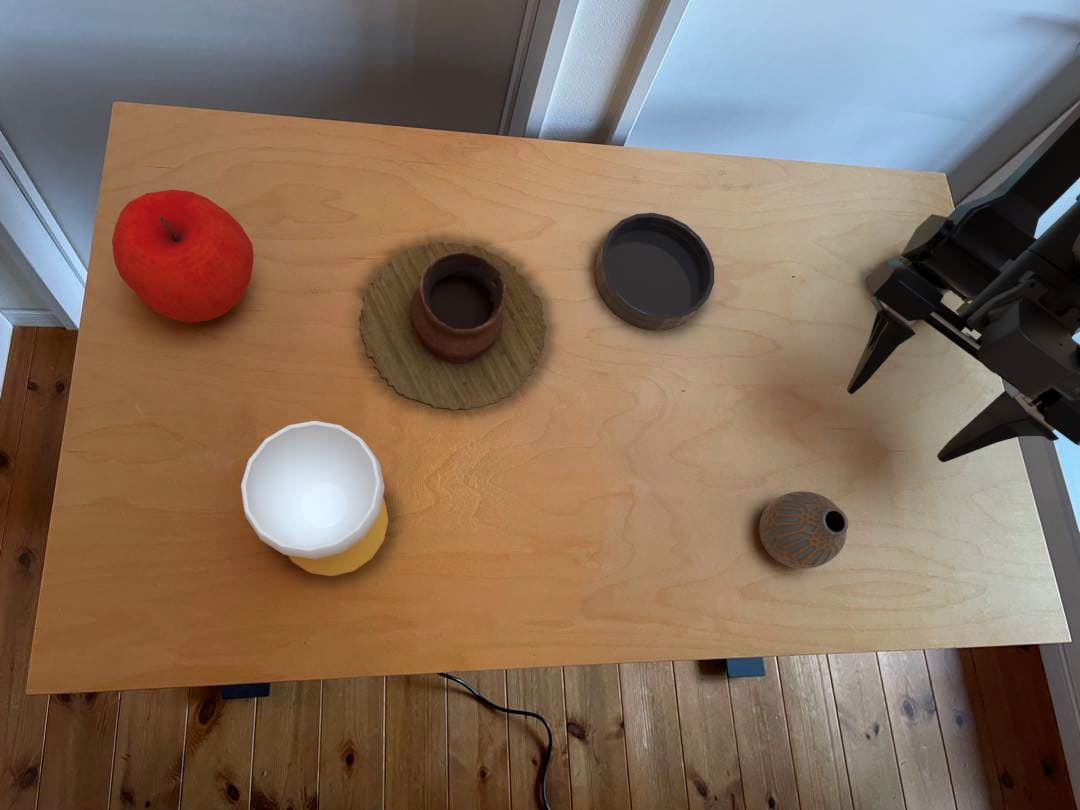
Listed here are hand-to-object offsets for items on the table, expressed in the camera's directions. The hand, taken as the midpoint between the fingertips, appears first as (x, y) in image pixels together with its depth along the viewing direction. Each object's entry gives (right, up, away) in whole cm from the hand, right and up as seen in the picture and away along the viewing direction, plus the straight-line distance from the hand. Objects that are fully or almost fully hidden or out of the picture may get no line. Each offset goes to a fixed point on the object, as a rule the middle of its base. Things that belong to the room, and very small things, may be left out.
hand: (894, 425), depth 56 cm
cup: (-47, -8, +2) cm, 48 cm away
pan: (-18, +15, +16) cm, 28 cm away
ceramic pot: (-38, +10, +10) cm, 40 cm away
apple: (-60, +12, +6) cm, 61 cm away
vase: (-6, -11, +10) cm, 16 cm away
